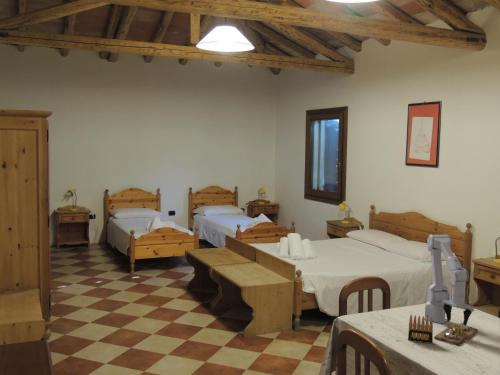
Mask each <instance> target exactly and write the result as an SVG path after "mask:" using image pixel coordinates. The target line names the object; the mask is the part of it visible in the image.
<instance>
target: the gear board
mask: <svg viewBox="0 0 500 375" xmlns="http://www.w3.org/2000/svg"><path fill="white" fill-rule="evenodd" d="M454 324H456V325H458V324H459V323H456V322H455V323H454ZM449 330H450V326H448V327H447V328H446V329H443V330H442V331H440V332H439V333H437V334H436V335H434V339H433V340H437V341H440V342H444V343H447V344H451V345H455V346H460V345H461V344H462V343H464V342H466V341H467V340H468V339H470V338H471V337H472V336H474V335H475V334H477V333H478V332H479V329H478V328H475V327H472V326H469V330H467V331H464V333H462V335H460V334H458V337H457V338H456V339H450V338H449V339H448V338H447V337H445V336H444V333H445V332H446V331H448V332H449Z"/></svg>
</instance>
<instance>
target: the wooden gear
mask: <svg viewBox="0 0 500 375" xmlns="http://www.w3.org/2000/svg"><path fill="white" fill-rule="evenodd" d="M456 324H457V323H456ZM456 324H455V323H452V324H451V325H450V326H449V327H450V329H452V332H453V331H455V333H456V334H460V335H462V333H464V327H462V326H461V325H457V326H458V327H456Z"/></svg>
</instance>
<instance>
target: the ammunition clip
mask: <svg viewBox="0 0 500 375" xmlns="http://www.w3.org/2000/svg"><path fill="white" fill-rule="evenodd" d="M424 318H425V315H423V316H422V318H421V316H420V315H418V317H417V315H414V316H412V314H410V315H409V322H408V335H407V336H408V337H407V341H411V342H419V343H426V344H433V343H434V342H433V340H434V339H433V334H434V322H433V320H432V317H431V318H430V321H429V320H428V316H427V318H426V320H425V319H424Z"/></svg>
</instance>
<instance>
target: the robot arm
mask: <svg viewBox="0 0 500 375" xmlns="http://www.w3.org/2000/svg"><path fill="white" fill-rule="evenodd" d="M426 241H427V243H426V244H427V250H428V251H429V252H430V260H431V261H430V264H431V274H432V275H431V276H432V284H431V285H429V287H427V294H426V297H427V302H425V306H424V321H426V318H427V316H428V320H429V322H430V318H431V317H432V320H433V323H438V324H441V325H442V324H445V323H446V322H450V321H451V320H452V310H453V308H457V309H462V310H463V322H464V325H467V326H468V322H469V321H468V320H469V318H470V317H471V315H472V313H473V312H475V306H473V305H469V304H467V303H465V301H466V299H465V298H466V286H467V285H466V282H468V281H469V272H468V270H467V269H466V268H465V267H463V266H462V264H461V262H460V260H459V258H458V257H456V256H454V253H453V250H452V247H451V236H450V235H449V234H429V235H428V237H427V239H426ZM442 254H443V256H444V257H445V259H446V261H445V263H446V265H447V268H448V270H449V272H450V274H449V275H450V280H451V283H450V284H451V287H452V288H451V295H450V292H449V287H447V286H446V285H445V284H444V277H443V276H444V274H443V265H442V264H443V263H442Z"/></svg>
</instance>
